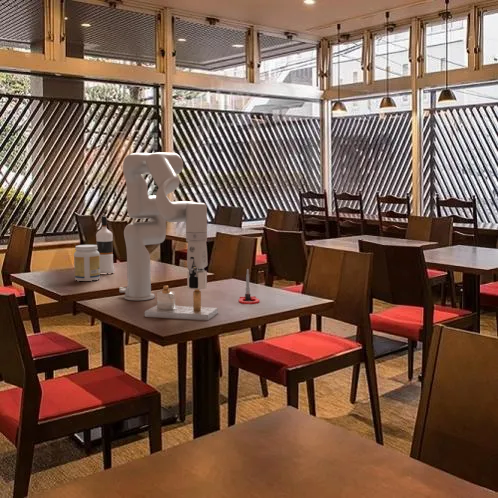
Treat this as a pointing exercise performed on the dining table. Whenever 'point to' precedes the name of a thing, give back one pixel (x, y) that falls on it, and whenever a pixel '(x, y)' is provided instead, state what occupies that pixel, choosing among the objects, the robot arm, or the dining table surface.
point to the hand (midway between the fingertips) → (196, 285)
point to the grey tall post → (248, 293)
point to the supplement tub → (86, 263)
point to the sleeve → (199, 279)
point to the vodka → (105, 247)
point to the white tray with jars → (179, 307)
